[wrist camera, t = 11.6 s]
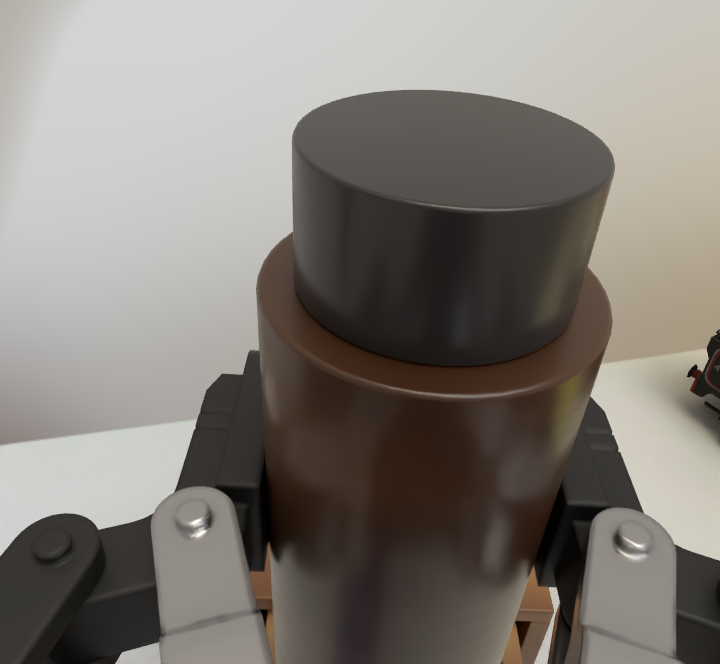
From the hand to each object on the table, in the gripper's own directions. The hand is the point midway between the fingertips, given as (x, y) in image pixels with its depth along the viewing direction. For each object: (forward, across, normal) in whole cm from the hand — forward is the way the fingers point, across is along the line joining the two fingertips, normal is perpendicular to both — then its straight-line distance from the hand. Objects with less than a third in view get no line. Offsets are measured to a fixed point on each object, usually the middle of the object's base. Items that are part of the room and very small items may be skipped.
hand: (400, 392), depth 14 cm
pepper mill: (-3, 0, +10) cm, 10 cm away
